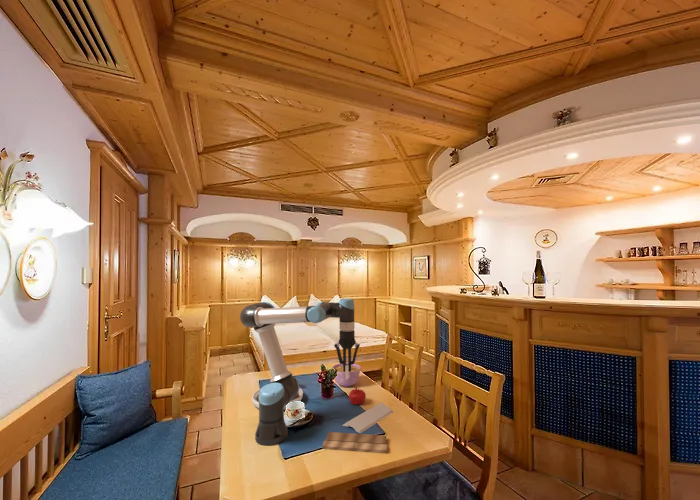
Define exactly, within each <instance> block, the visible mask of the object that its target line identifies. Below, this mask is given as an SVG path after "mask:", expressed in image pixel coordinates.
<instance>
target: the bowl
mask: <svg viewBox="0 0 700 500" xmlns="http://www.w3.org/2000/svg"><path fill="white" fill-rule="evenodd" d="M260 390H261V388H260V389H258V390H256V391H255V392H254V393H253V394H252V396H251V402H252V405H253V406H255V408H257V409H259V393H260ZM303 395H304V391H303V390H302V388H301V387H299V392H298V394H297V395H296V397H295V398H294V399H293V400H292V401H290V402H294V401H300V402H301V401H302V398H303V397H304V396H303ZM290 402H289V403H290ZM285 410H287V409H286V406H285V407H284V411H285Z"/></svg>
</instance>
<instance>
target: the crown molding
mask: <svg viewBox="0 0 700 500" xmlns="http://www.w3.org/2000/svg"><path fill="white" fill-rule="evenodd" d="M393 413H394V411H393V410H392V409H391V408H390V407H389V406H387V405H385V404H383V402H379V403H377V404H376V405H374V406H372V407H370V408H369V409H367V410H365V411H363V412H362V413H360V414H358V415H357V416H355V417H353V418H352V419H350V420H348V421H346V422H345V423H343V424H342V426H343V427H346V428H348V427H351V428H352V429H353V430H354V431H355V432H357V434H363V432H365V431H367V430H368V429H370V428H371V427H373V426H374V425H376V424H377V423H379V422H381V420H383V419H385V418H386V417H388V416H390V415H391V414H393Z"/></svg>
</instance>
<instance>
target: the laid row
mask: <svg viewBox="0 0 700 500" xmlns="http://www.w3.org/2000/svg"><path fill="white" fill-rule="evenodd" d="M321 448H322V450H334V451H349V452H362V453H363V452H365V453H376V454H377V453H378V454H388V444H387V443H386V444H371V443H355V442H341V441H327V440H326V439H325V440H323V442H322V446H321Z"/></svg>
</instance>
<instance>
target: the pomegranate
mask: <svg viewBox="0 0 700 500" xmlns="http://www.w3.org/2000/svg"><path fill="white" fill-rule="evenodd" d="M348 399H349V402H350V404H351V405H362V404H363V403H364V402H365V401H366V393H365V391H364V390H363V389H361V387H359V388H358V387H357V386H355V388H354V389H351V391H350V392H349V394H348Z"/></svg>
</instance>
